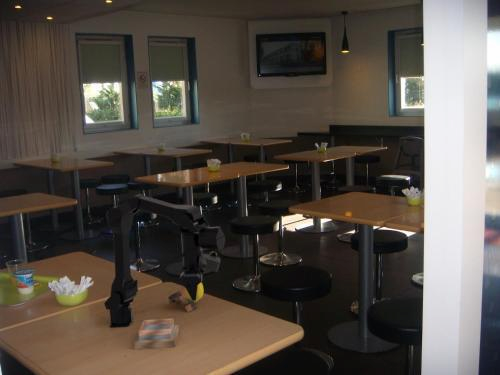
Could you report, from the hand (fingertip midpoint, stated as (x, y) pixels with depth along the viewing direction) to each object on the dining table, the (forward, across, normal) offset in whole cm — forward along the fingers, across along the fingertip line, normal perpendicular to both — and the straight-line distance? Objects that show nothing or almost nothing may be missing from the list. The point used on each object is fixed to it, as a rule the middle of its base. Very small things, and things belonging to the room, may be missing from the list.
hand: (194, 297), depth 176 cm
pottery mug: (+12, +24, +6) cm, 27 cm away
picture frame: (+12, -3, +12) cm, 17 cm away
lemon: (+2, 0, 0) cm, 2 cm away
